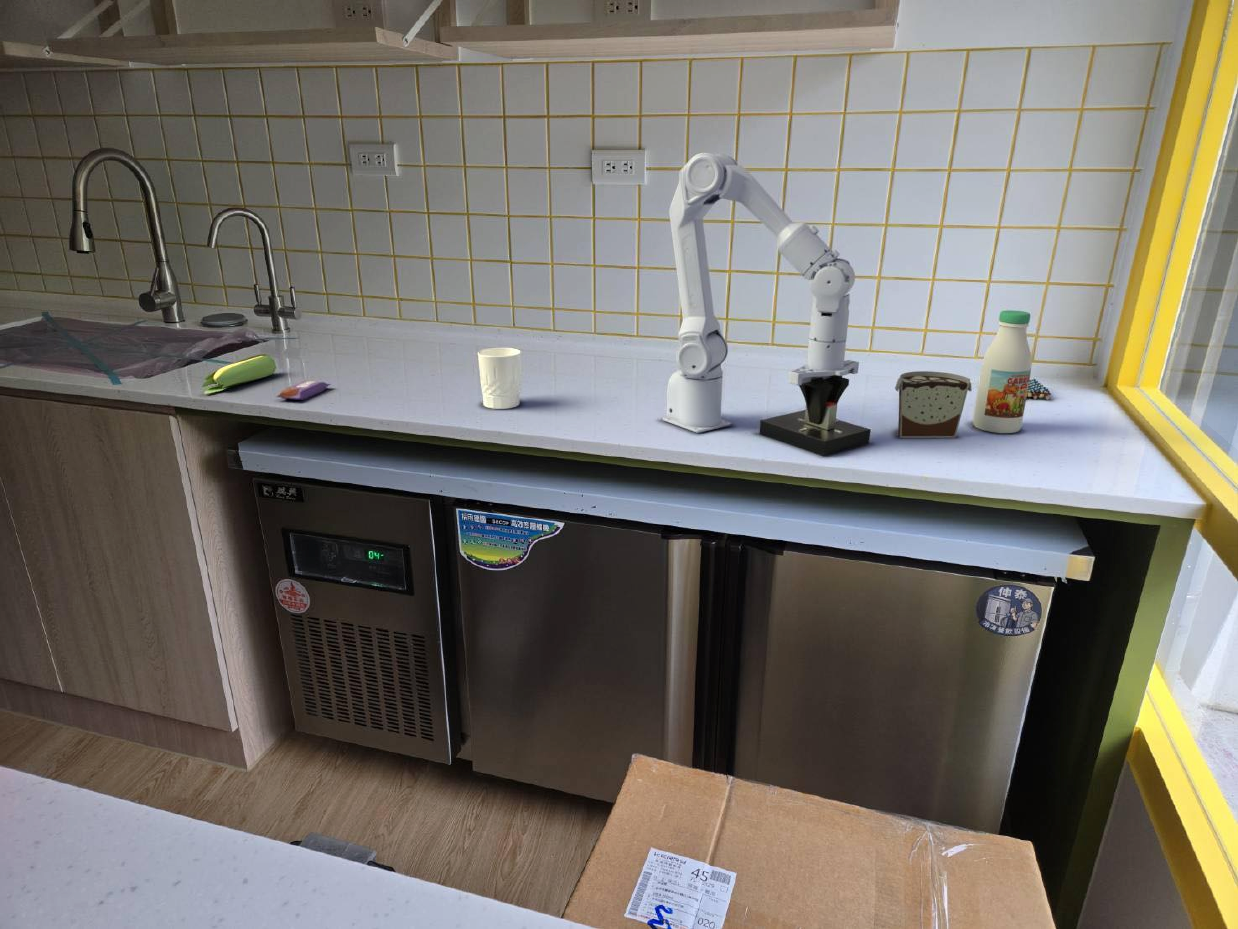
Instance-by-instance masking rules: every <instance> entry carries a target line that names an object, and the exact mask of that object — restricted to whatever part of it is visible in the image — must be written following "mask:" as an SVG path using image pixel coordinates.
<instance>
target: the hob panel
mask: <svg viewBox="0 0 1238 929" xmlns="http://www.w3.org/2000/svg"><path fill="white" fill-rule="evenodd" d="M804 420H805V409H803V410H798V411H794V412H789V413H785V414H781V415H777V416H772V417H768V418H763V419H760V421H759V435H761V436H763V437H766V438H770V439H773V440H775V441H778V442H780V443H783V444H786V445H790V446H793V447H795V448H798V449H801V450H804V451H806V452H810V453H813V454H816V455H819V456H822V457H827V456H830V455H834V454H838V453H842V452H846V451H849V450H853V449H855V448H859V447H860V448H861V447H863V446H866V445H869V444H870V440H871V432H872V431H871V430H872V429H871V428H867V427H865V426H862V425H857V424H855V423H851V422H847V421H844V420H840V419H838V418H836V423H835V428H834V429H830V430H826V429H822V428H819V427H816V426H813V425H810V424H806V423H804Z"/></svg>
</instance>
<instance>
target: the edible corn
mask: <svg viewBox="0 0 1238 929" xmlns="http://www.w3.org/2000/svg"><path fill="white" fill-rule="evenodd" d="M276 369H277V365H276V361H275V359H274V358H273V357H272V356H271V355H270V354H267V353H262V354H261V353H260V354H256V355H253V356H249V357H246V358H243V359H241V360H239V361H236V362H234V363H232V364H229V365H225V366H224V367H221V368H219V369H218V370H216V371H214V372H211V373H210V374H207V375H206V376H205V377H204V378H203V380H205V381H204V382H203V384H202V386H201V388H202V387H205V386H208V385H211V384H217V383H218V385H215V386H212V387H209V388H207V390H205V391H204V392H203V394H204V395H206V394H212V393H216V392H220V391H223V390H226V389H230V388H232V387H234V386H238V385H242V384H245V383H249V382H254V381H257V380H260V379H261V380H262V379H265V378H267V377H270V376H273V375H274V374H275V373H276Z"/></svg>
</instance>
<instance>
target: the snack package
mask: <svg viewBox="0 0 1238 929" xmlns="http://www.w3.org/2000/svg"><path fill="white" fill-rule="evenodd" d="M331 385H332V383H326V382H324V381H311V380H304V381H301V382H299V383H296V384H294V385H292V386H289V387H286V388H284V389H283V390H282V391H280V393H279V394H277V395H275V398H280V399H284V400H297V401H304V400H307V399H308V398H311V397H313V396H316V395H317V394H320V393H322V392H323V391H325V390H326V389H327V388H328V387H329V386H331Z"/></svg>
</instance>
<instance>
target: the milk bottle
mask: <svg viewBox="0 0 1238 929" xmlns="http://www.w3.org/2000/svg"><path fill="white" fill-rule="evenodd" d="M1030 320H1031V313H1030V312H1027V311H1023V310H1014V309H1013V310H1002V311H1000V313H999V316H998V323H997V324H998V325H999V326H998V331H997V332H996V335H995V337H994V338H993V340H992V342H991V343H990V345H989V346H988V348H987V349H986V351H985V354H984V356H983V359H982V363H981V367H980V368H981V369H980V372H979V380H978V386H977V392H976V397H975V403H974V404H975V405H974V412H973V416H972V417H973V418H972V424H973V426H974V427H975V428H976V429H979V430H982V431H986V432H990V433H997V434H1014V433H1018V432H1019V431H1020V430H1021V429H1022V424H1023V420H1024V413H1025V409H1026V402H1027V398H1028V397H1027V392H1028V386H1029V380H1030V379H1031V374H1032V373H1031V372H1032V365H1033V364H1032V362H1033V361H1032V360H1033V359H1032V353H1031V349H1030V345H1029V342H1028V336H1027V329H1028V327H1029V326H1030V325H1029V324H1030Z"/></svg>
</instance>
